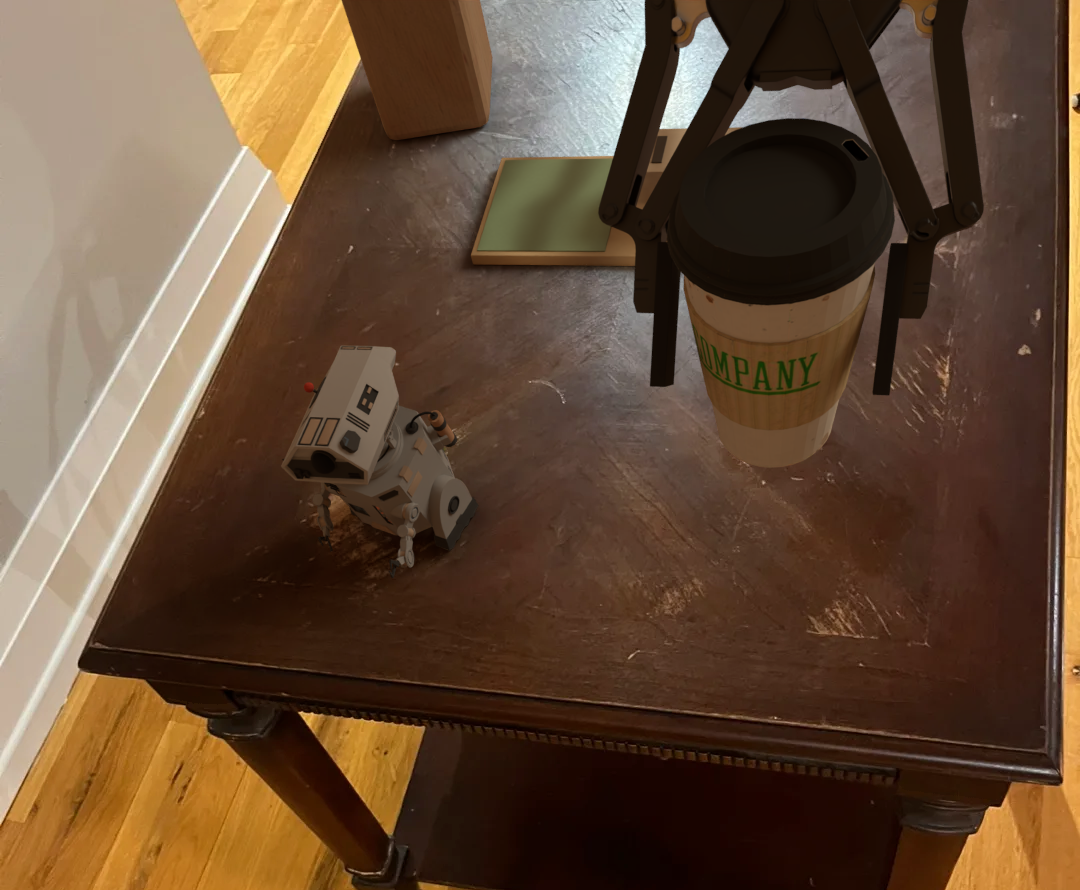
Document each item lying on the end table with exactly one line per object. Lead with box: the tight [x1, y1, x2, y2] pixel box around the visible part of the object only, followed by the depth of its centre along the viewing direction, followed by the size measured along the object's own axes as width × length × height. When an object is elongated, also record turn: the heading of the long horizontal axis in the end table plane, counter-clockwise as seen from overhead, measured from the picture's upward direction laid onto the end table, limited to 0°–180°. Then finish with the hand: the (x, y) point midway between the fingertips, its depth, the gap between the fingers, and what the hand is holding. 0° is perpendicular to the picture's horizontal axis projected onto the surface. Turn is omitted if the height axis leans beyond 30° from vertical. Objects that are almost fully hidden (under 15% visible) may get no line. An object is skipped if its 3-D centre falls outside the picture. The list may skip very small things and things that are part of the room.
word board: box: [470, 126, 744, 267], centre depth 89 cm, size 24×12×6 cm, turn 78°
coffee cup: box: [667, 117, 896, 469], centre depth 53 cm, size 10×10×15 cm
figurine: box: [280, 345, 479, 579], centre depth 74 cm, size 9×12×15 cm
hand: (768, 389), depth 53 cm, fingers closed on coffee cup, 10 cm apart
